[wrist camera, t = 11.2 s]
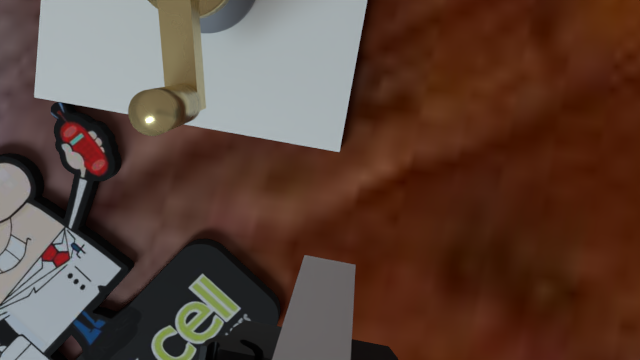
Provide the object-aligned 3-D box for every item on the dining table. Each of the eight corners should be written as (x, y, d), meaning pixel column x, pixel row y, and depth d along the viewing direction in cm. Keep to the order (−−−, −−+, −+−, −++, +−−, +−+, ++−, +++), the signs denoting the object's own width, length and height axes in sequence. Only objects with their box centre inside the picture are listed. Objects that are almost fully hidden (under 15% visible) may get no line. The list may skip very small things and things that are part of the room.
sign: (91, 505, 54) (-180, 281, 50) (99, 491, 55) (-162, 274, 52) (297, 308, 49) (12, 46, 46) (299, 299, 51) (25, 47, 47)
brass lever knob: (139, -80, 39) (63, -128, 29) (235, -84, 39) (194, -134, 29) (156, 116, 42) (93, 137, 32) (247, 113, 42) (213, 134, 31)
